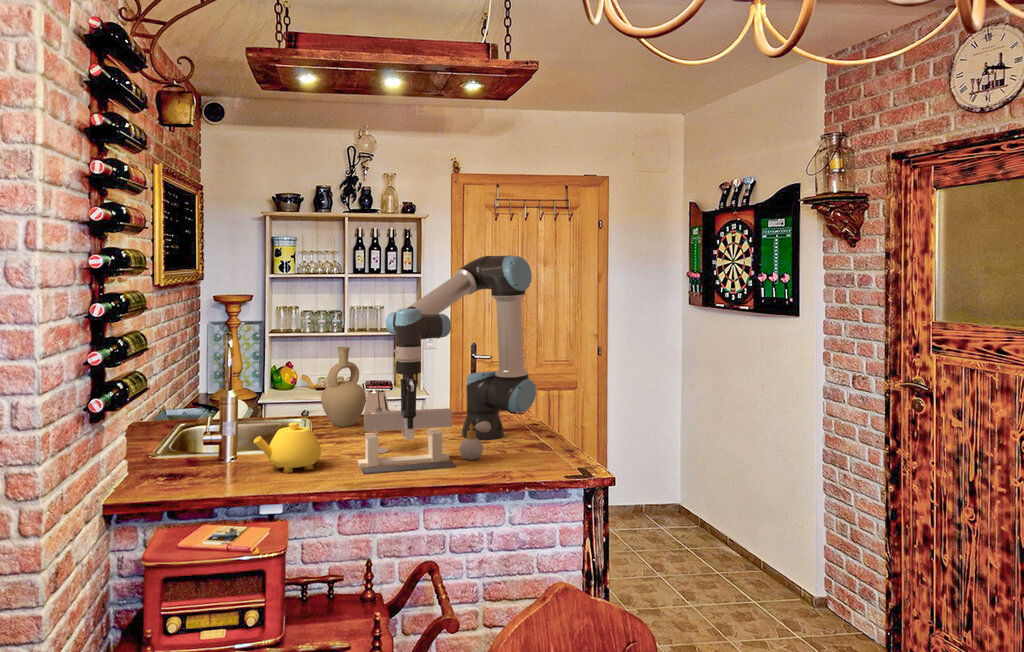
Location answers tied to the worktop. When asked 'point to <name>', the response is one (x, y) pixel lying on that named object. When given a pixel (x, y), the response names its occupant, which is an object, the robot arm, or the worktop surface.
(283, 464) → the teapot
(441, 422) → the rail
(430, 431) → the rack
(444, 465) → the mat
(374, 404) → the wineglass
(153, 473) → the worktop surface
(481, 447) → the perfume bottle
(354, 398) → the vase
